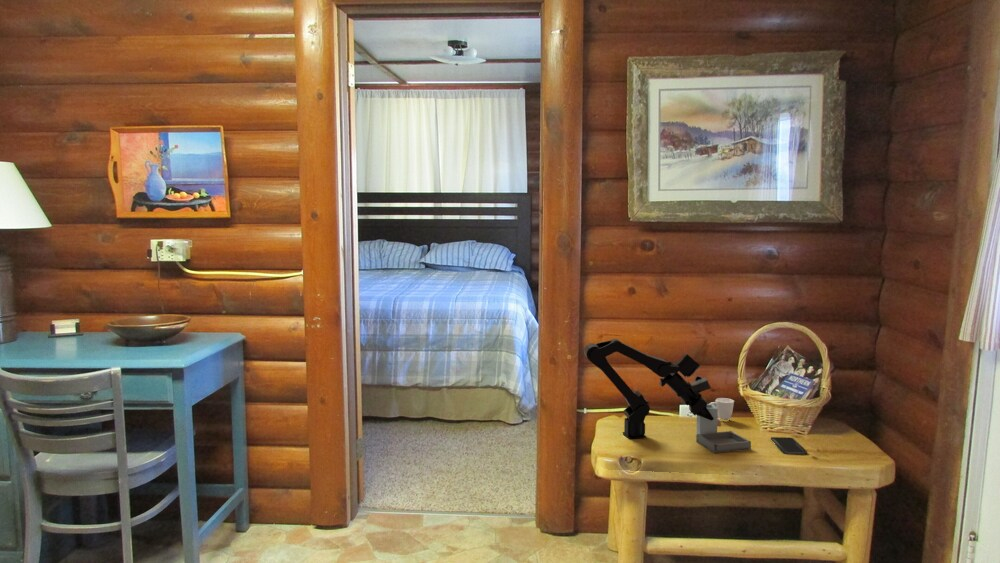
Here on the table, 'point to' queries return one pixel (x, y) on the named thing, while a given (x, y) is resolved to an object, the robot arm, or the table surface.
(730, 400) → the cup
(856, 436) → the table surface
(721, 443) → the tray
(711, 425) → the sleeve
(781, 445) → the phone
